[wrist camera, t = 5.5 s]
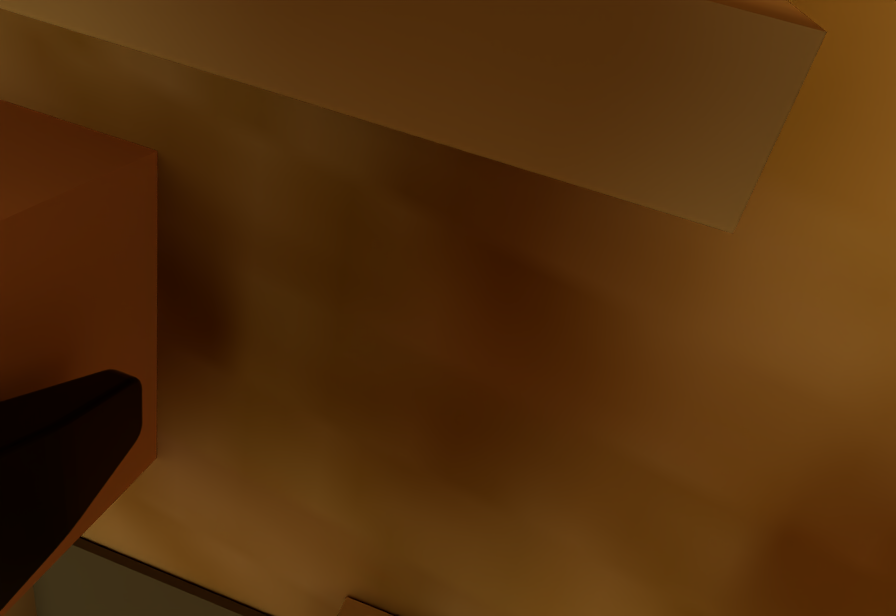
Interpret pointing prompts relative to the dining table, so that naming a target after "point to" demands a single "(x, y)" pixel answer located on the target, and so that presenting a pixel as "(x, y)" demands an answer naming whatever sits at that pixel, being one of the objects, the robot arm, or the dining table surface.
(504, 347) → the dining table surface
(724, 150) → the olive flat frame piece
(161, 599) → the mat
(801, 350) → the dining table surface
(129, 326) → the block
